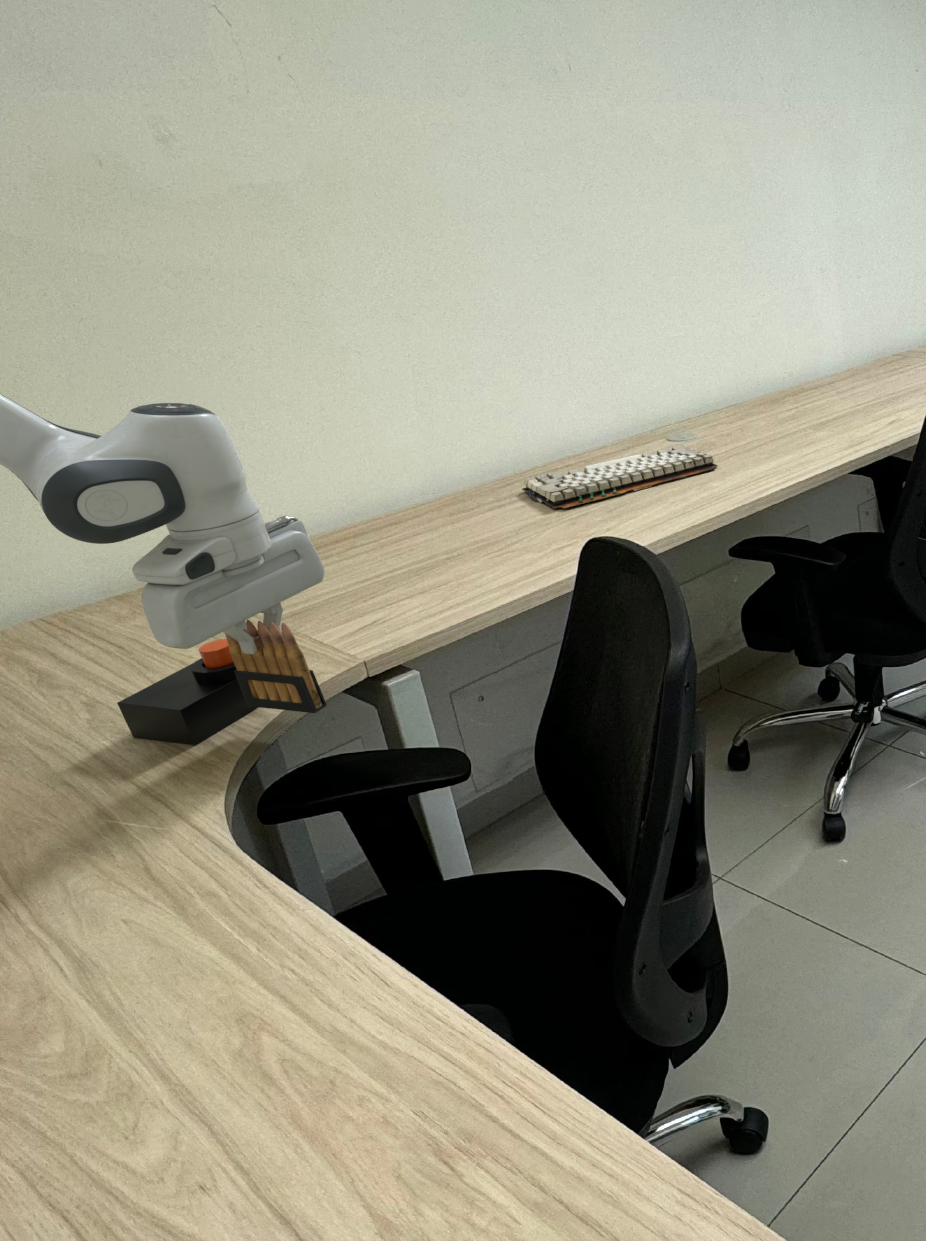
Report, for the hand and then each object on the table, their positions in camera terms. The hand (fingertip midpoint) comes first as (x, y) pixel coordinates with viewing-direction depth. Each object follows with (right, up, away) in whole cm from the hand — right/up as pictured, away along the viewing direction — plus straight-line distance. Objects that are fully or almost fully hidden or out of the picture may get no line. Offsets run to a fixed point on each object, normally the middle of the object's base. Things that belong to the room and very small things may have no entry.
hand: (263, 646), depth 120 cm
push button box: (-13, -10, +8) cm, 18 cm away
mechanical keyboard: (+12, +31, +93) cm, 98 cm away
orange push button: (-11, -2, +8) cm, 13 cm away
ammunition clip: (0, -8, +4) cm, 9 cm away
